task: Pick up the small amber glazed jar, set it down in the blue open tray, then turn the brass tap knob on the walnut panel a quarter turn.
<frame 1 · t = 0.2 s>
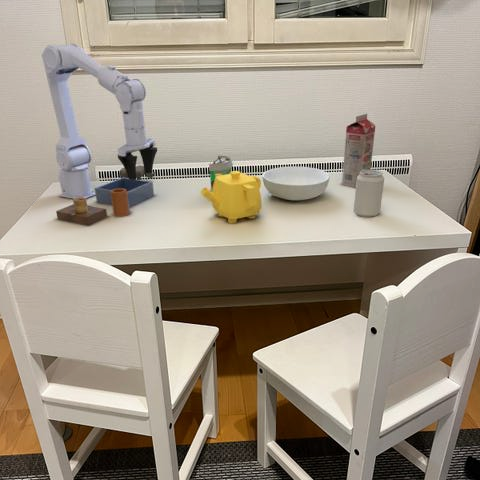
hand: (140, 175, 149), 10 cm above the table, tool pointing down, fingers open, 7 cm apart
serving bowl: (295, 197, 161), on the table
blue open tray: (126, 199, 163), on the table
teapot: (232, 217, 147), on the table
juice carton: (355, 184, 171), on the table
can: (366, 214, 146), on the table
rhino figurine: (138, 183, 178), on the table
grey green irregular piece: (224, 190, 168), on the table
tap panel: (82, 218, 148), on the table
tap knob: (80, 204, 145), point 4 cm above the table, hinge at 0.0°
jar: (121, 213, 151), on the table
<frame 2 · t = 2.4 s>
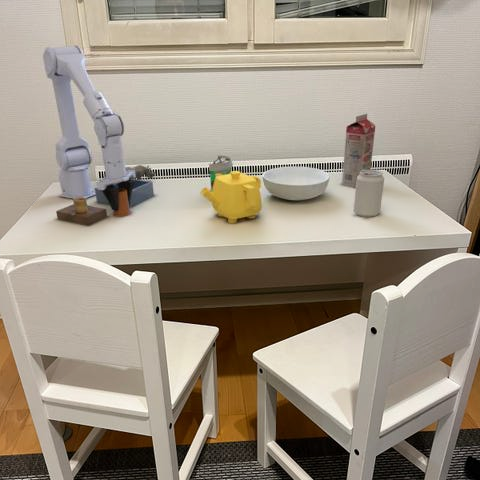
hand: (120, 207, 150), 2 cm above the table, tool pointing down, fingers closed on jar, 4 cm apart
jar: (121, 213, 151), on the table, touching gripper
everything else where it was.
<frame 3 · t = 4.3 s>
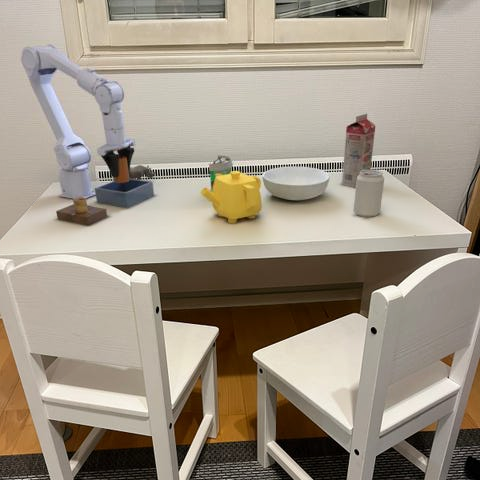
hand: (120, 174, 155), 9 cm above the table, tool pointing down, fingers closed on jar, 4 cm apart
jar: (121, 180, 156), point 7 cm above the table, touching gripper
everything else where it was.
when the fingers open (2 cm above the table, at t = 6.6 s): jar stays where it is, resting on blue open tray.
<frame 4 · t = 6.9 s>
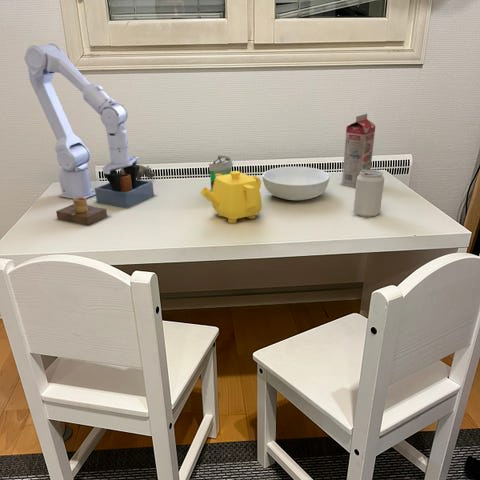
hand: (124, 191, 161), 3 cm above the table, tool pointing down, fingers open, 6 cm apart
jar: (125, 197, 162), point 1 cm above the table, touching blue open tray
everything else where it was.
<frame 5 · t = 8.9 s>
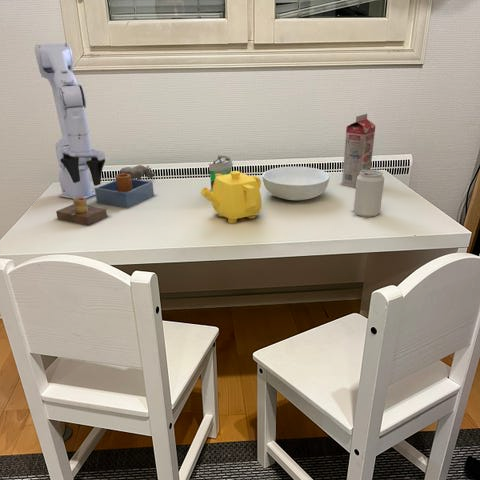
hand: (87, 183, 145), 9 cm above the table, tool pointing down, fingers open, 7 cm apart
nothing on the table moved.
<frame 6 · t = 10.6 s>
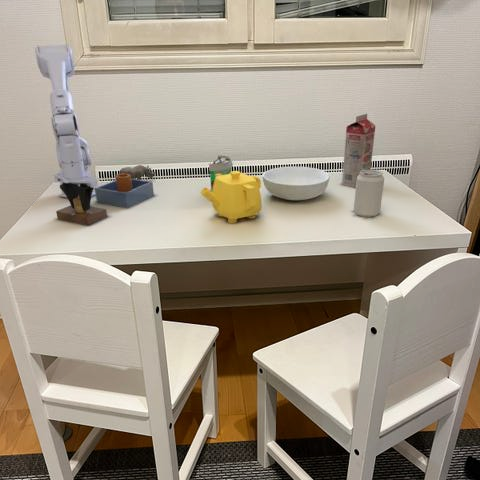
hand: (81, 208, 145), 3 cm above the table, tool pointing down, fingers closed on tap knob, 3 cm apart
tap knob: (80, 204, 145), point 4 cm above the table, hinge at -0.2°, touching gripper
everything else where it was.
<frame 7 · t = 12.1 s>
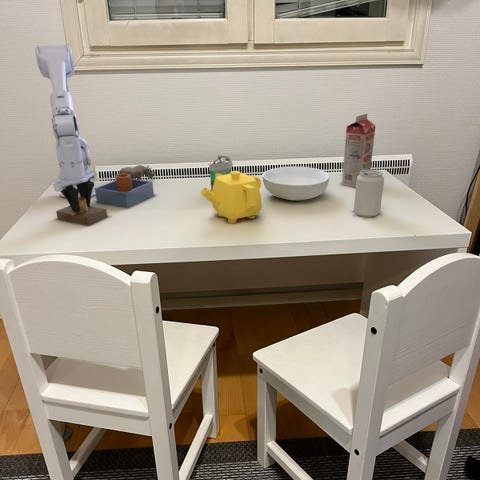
hand: (81, 209, 145), 3 cm above the table, tool pointing down, fingers closed on tap knob, 4 cm apart
tap knob: (80, 204, 145), point 4 cm above the table, hinge at 89.9°, touching gripper
everything else where it was.
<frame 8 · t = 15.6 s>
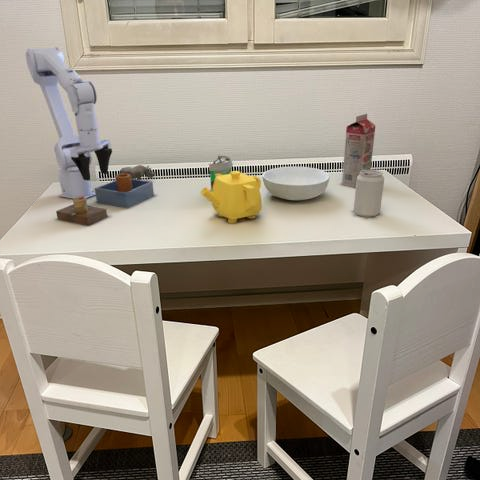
hand: (95, 176, 151), 9 cm above the table, tool pointing down, fingers open, 7 cm apart
tap knob: (80, 204, 145), point 4 cm above the table, hinge at 90.5°
everything else where it was.
at the end: jar inside the target area in the blue open tray (0.1 cm from its centre), point 0.6 cm above the blue open tray's base; jar tilted 0°; tap knob at +90° (first picture: +0°) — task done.
